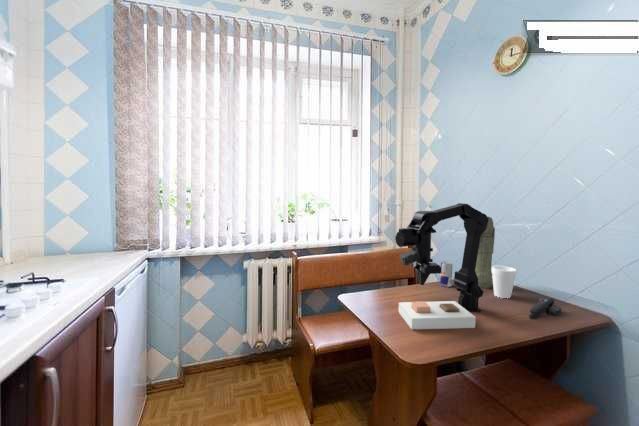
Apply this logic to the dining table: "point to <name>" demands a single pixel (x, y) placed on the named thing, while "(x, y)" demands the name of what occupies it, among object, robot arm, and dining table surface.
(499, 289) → the foam cup
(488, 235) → the thermos
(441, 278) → the energy drink
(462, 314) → the key panel
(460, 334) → the dining table surface
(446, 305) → the walnut key
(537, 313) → the can opener
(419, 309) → the terracotta key
